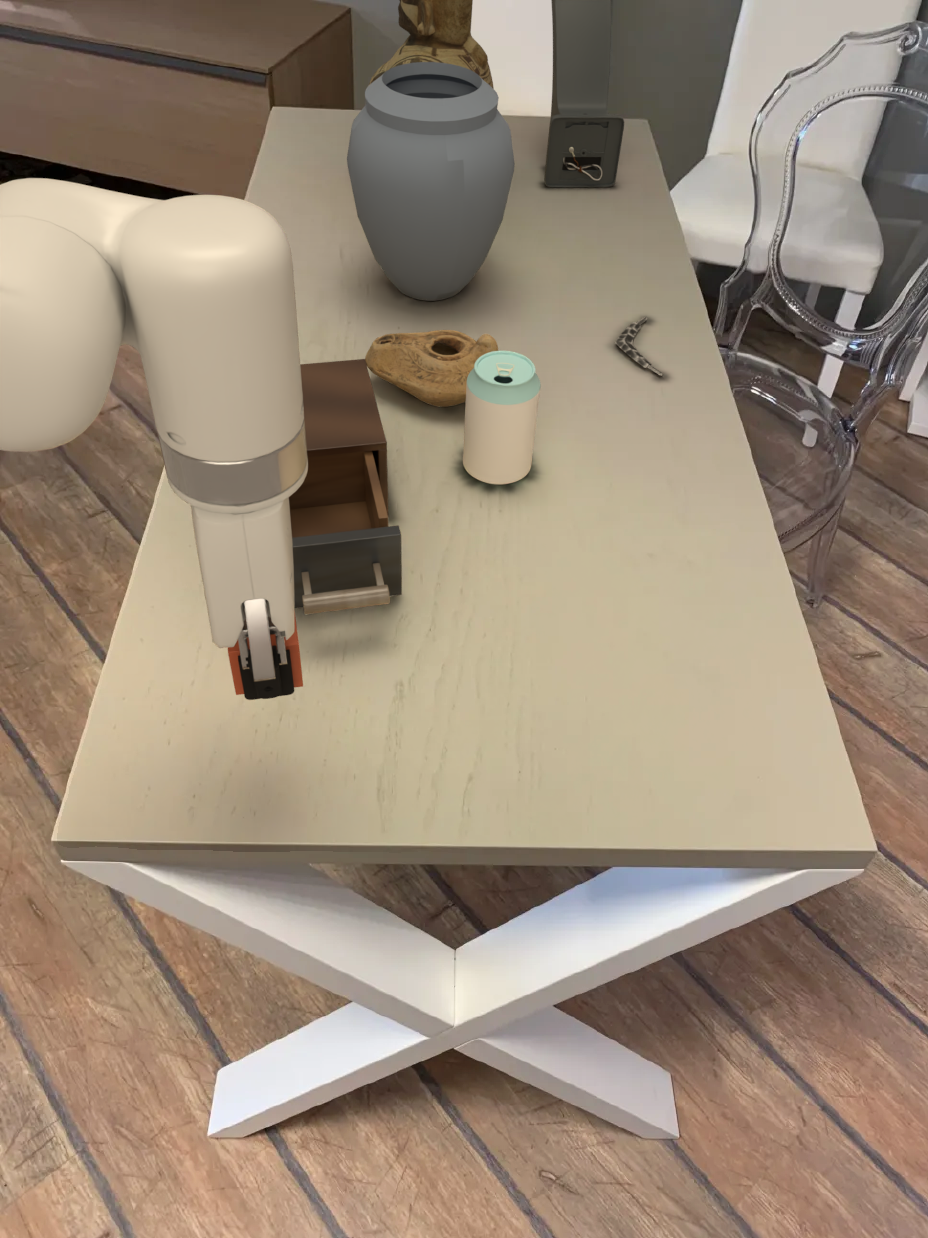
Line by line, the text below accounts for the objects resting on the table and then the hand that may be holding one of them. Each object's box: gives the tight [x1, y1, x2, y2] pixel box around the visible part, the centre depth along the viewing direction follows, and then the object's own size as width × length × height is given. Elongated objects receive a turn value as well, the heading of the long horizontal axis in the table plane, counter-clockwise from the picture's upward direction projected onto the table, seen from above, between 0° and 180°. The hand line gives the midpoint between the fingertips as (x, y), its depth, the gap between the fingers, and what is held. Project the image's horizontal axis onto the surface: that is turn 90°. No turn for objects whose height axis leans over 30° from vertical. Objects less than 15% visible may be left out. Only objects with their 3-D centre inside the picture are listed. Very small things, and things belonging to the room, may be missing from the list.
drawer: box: [289, 451, 403, 615], centre depth 82 cm, size 17×10×7 cm, turn 12°
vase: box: [346, 62, 515, 302], centre depth 112 cm, size 20×20×24 cm
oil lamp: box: [364, 329, 499, 408], centre depth 103 cm, size 11×15×8 cm
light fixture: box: [543, 0, 625, 188], centre depth 139 cm, size 11×17×24 cm, turn 6°
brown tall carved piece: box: [368, 0, 495, 90], centre depth 131 cm, size 19×21×30 cm
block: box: [227, 609, 304, 696], centre depth 62 cm, size 4×4×4 cm
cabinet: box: [300, 358, 390, 518], centre depth 91 cm, size 14×12×9 cm
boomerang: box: [614, 316, 664, 377], centre depth 113 cm, size 13×1×5 cm
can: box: [462, 350, 542, 485], centre depth 93 cm, size 7×7×12 cm
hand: (266, 662), depth 63 cm, fingers closed on block, 4 cm apart
